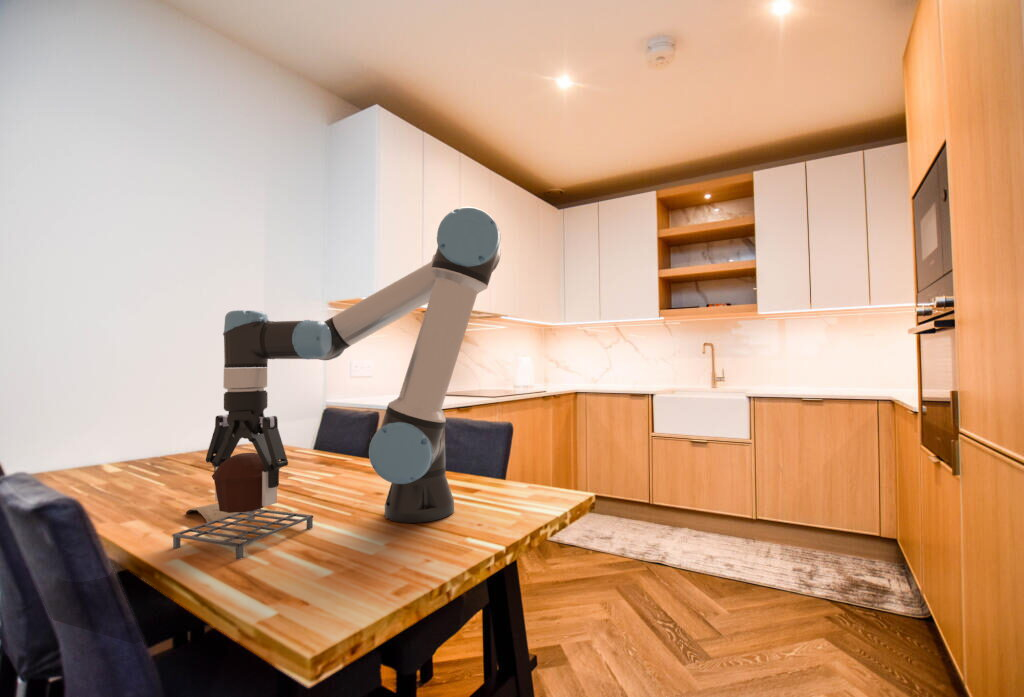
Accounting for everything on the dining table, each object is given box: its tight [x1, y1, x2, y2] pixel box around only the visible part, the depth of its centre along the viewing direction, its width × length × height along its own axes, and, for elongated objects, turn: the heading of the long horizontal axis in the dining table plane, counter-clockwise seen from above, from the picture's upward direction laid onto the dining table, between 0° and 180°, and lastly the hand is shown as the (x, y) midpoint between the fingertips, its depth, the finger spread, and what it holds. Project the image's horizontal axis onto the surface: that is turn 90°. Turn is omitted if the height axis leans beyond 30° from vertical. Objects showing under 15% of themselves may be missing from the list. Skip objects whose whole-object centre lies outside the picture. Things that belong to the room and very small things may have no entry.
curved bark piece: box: [185, 502, 256, 523], centre depth 110 cm, size 14×10×3 cm
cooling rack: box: [171, 508, 314, 560], centre depth 94 cm, size 17×17×2 cm
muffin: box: [211, 452, 272, 513], centre depth 94 cm, size 12×11×10 cm
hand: (245, 501), depth 94 cm, fingers closed on muffin, 12 cm apart
